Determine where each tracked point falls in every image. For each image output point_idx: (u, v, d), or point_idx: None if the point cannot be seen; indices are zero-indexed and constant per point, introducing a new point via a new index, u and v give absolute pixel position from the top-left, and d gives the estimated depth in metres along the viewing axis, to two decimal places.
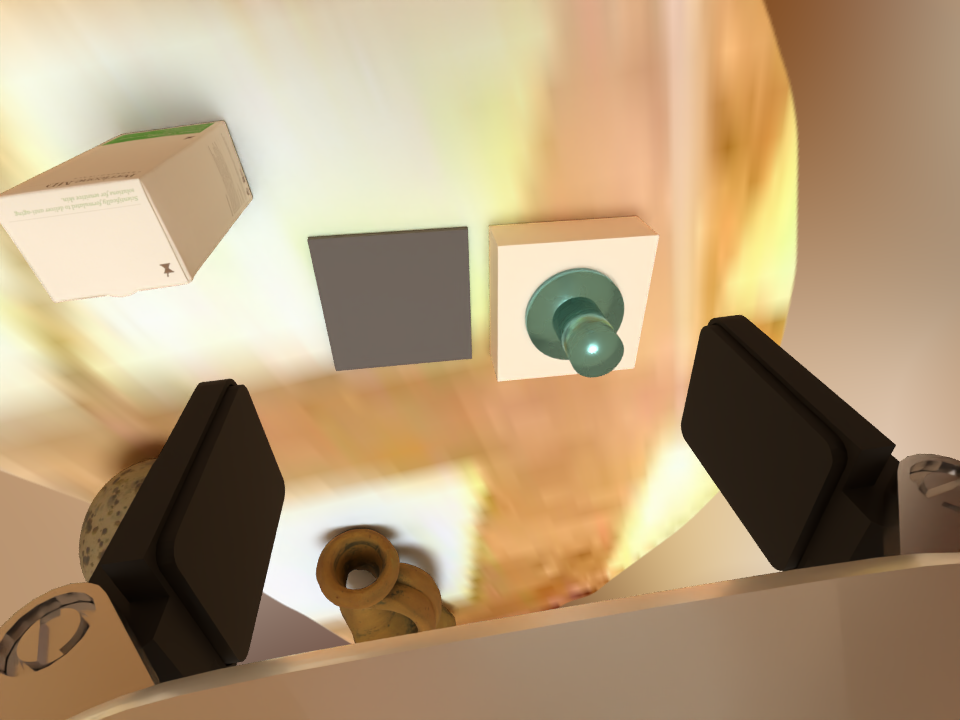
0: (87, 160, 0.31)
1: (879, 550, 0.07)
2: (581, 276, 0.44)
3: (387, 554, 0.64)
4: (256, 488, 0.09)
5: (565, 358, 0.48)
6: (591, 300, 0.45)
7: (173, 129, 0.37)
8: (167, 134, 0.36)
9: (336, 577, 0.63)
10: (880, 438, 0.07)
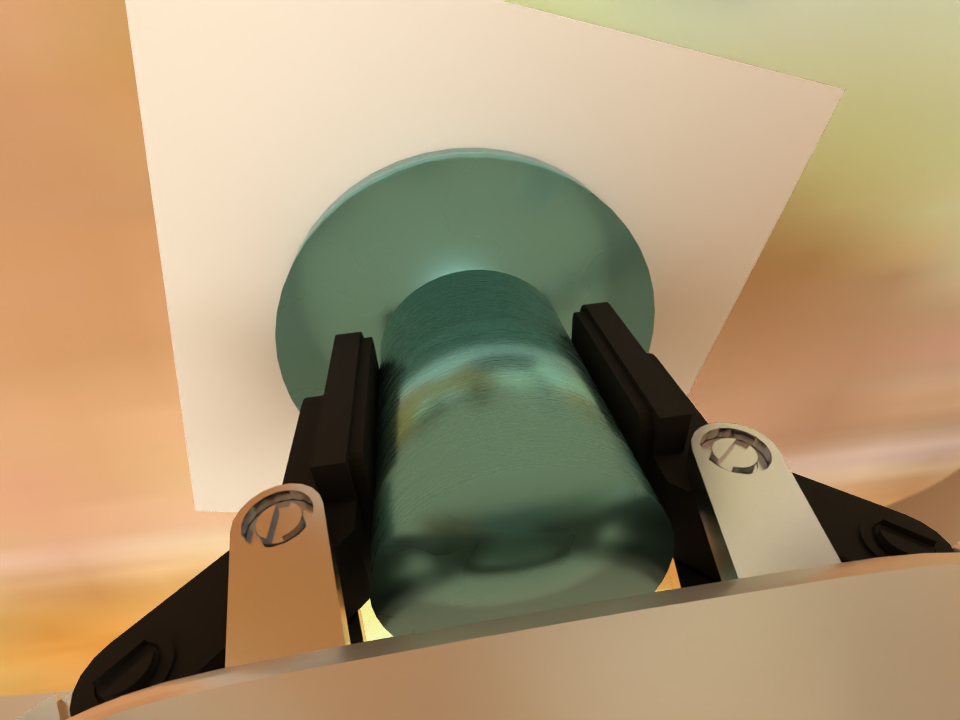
0: None
1: (679, 508, 0.08)
2: None
3: None
4: None
5: (285, 311, 0.11)
6: None
7: None
8: None
9: None
10: (681, 408, 0.08)
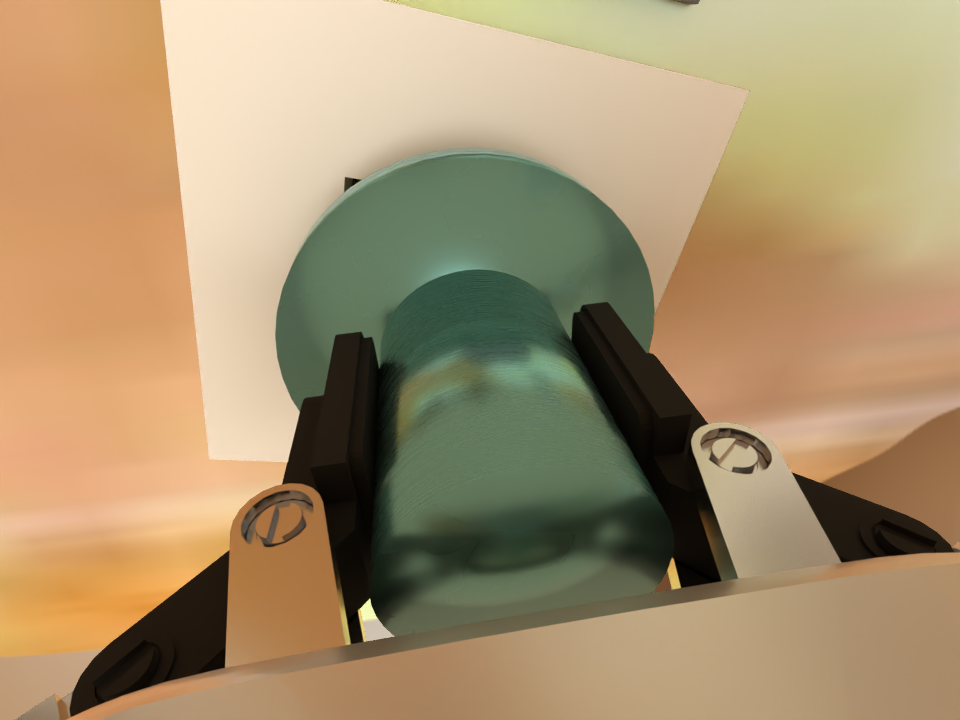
0: None
1: (679, 509, 0.08)
2: None
3: None
4: None
5: (285, 311, 0.11)
6: None
7: None
8: None
9: None
10: (681, 408, 0.08)
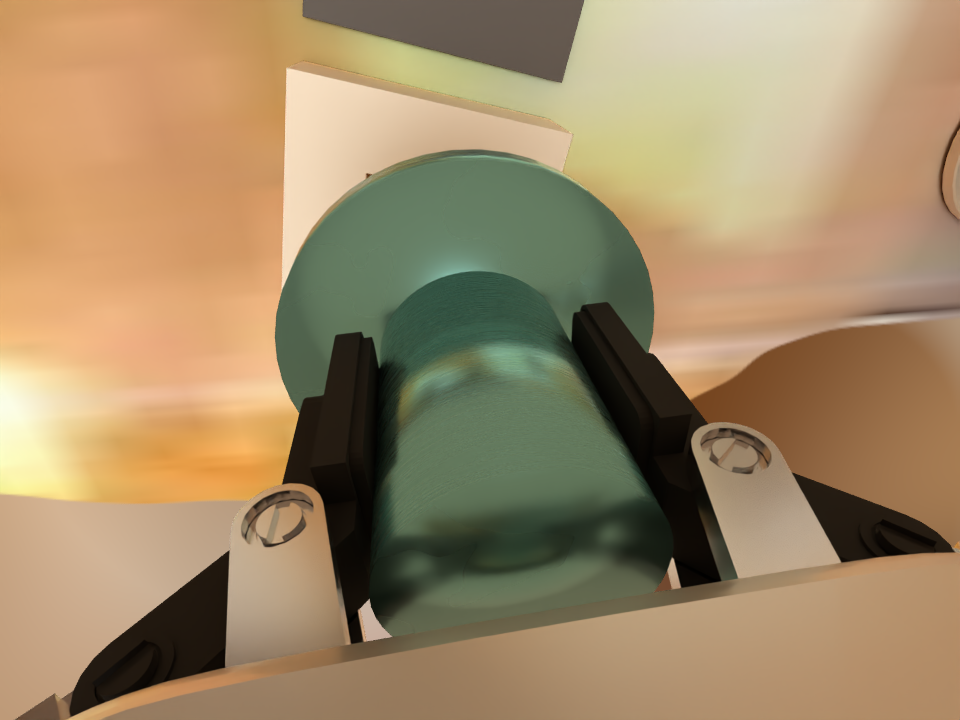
0: None
1: (679, 509, 0.08)
2: None
3: None
4: None
5: (284, 312, 0.11)
6: None
7: None
8: None
9: None
10: (681, 408, 0.08)
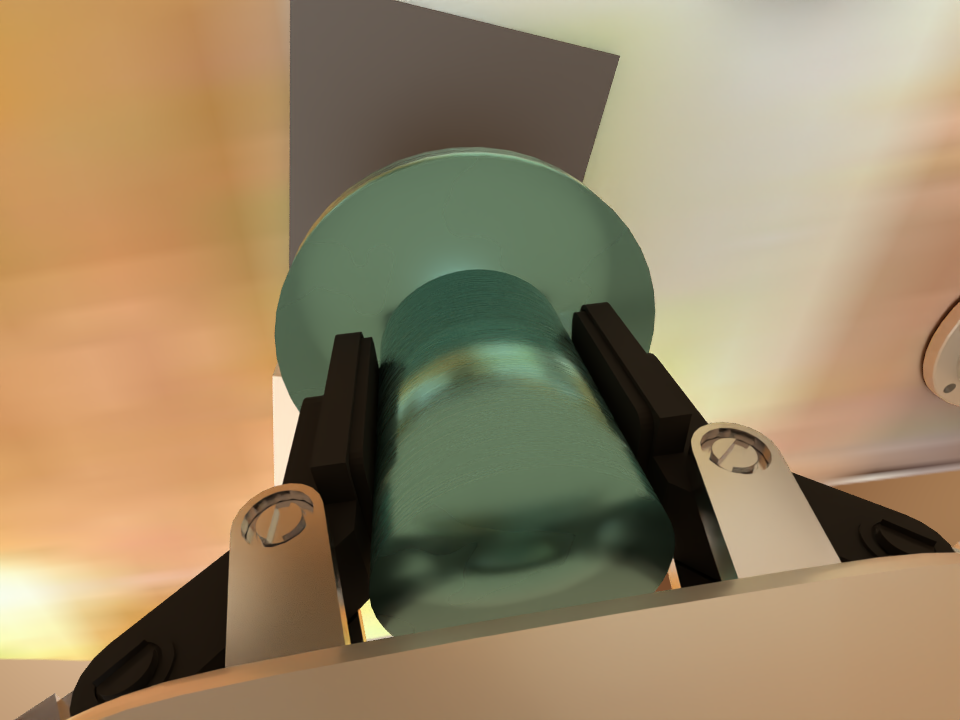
0: None
1: (679, 508, 0.08)
2: None
3: None
4: None
5: (284, 311, 0.11)
6: None
7: None
8: None
9: None
10: (681, 407, 0.08)
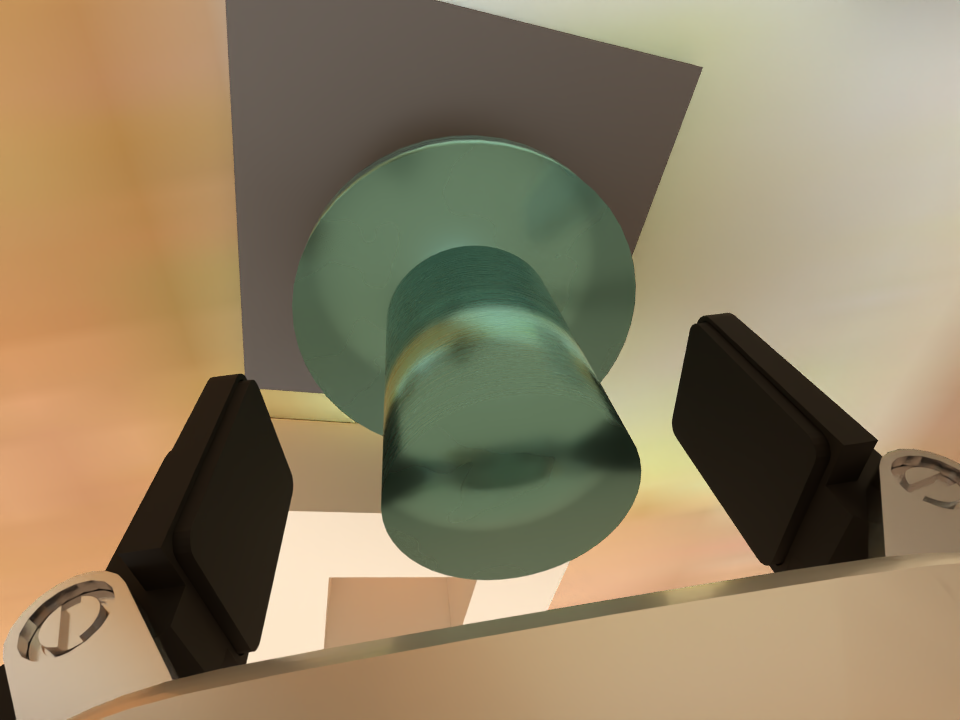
0: None
1: (861, 544, 0.07)
2: (612, 343, 0.14)
3: None
4: (266, 482, 0.10)
5: (301, 282, 0.12)
6: None
7: None
8: None
9: None
10: (863, 433, 0.07)
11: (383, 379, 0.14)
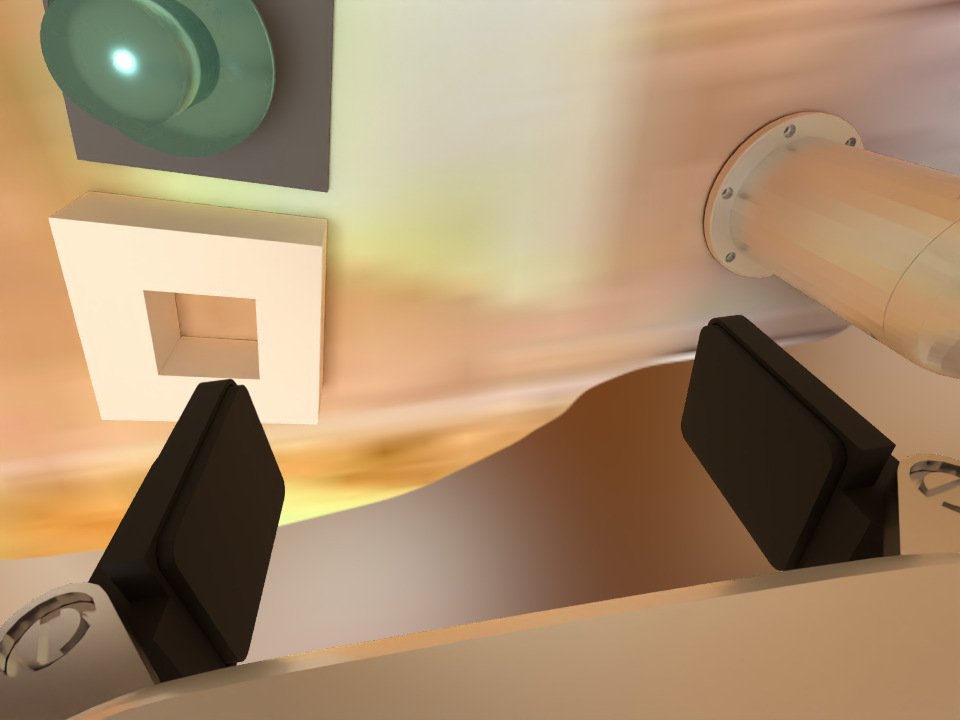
0: None
1: (879, 550, 0.07)
2: (264, 73, 0.24)
3: None
4: (256, 488, 0.09)
5: None
6: (213, 89, 0.24)
7: None
8: None
9: None
10: (880, 438, 0.07)
11: None
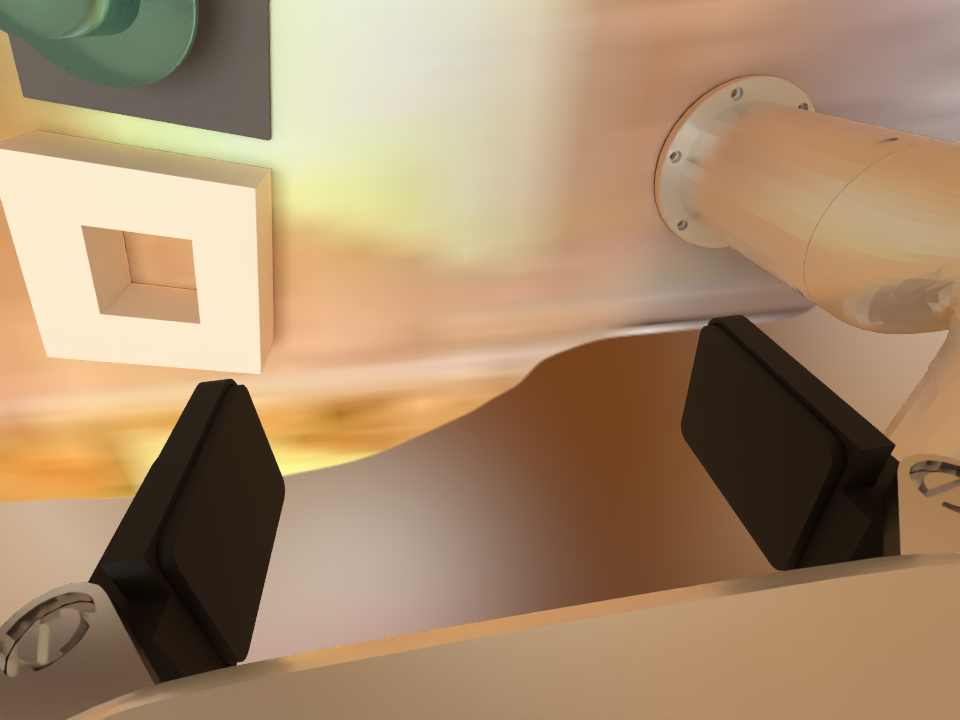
0: None
1: (879, 550, 0.07)
2: (184, 4, 0.25)
3: None
4: (256, 488, 0.09)
5: None
6: (133, 18, 0.25)
7: None
8: None
9: None
10: (880, 438, 0.07)
11: None
